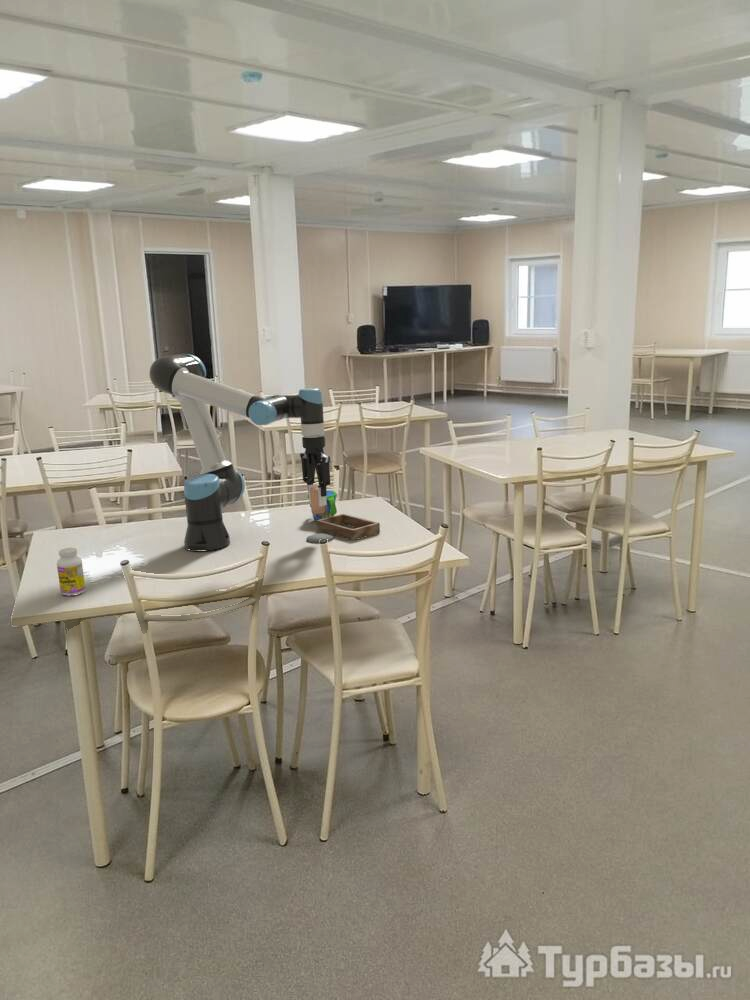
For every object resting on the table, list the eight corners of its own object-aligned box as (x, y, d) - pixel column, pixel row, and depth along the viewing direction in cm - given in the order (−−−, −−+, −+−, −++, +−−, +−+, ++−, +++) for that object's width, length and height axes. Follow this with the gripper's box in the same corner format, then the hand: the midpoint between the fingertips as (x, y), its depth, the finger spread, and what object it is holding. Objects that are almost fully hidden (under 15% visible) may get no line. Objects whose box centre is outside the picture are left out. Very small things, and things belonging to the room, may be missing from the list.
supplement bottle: (56, 597, 216) (49, 553, 213) (69, 588, 223) (62, 546, 220) (78, 597, 215) (72, 553, 212) (90, 589, 222) (84, 546, 219)
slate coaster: (317, 544, 255) (317, 542, 255) (301, 539, 261) (301, 537, 261) (338, 538, 261) (338, 537, 260) (322, 533, 267) (322, 532, 267)
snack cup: (345, 522, 281) (344, 495, 279) (319, 526, 276) (317, 499, 274) (328, 513, 295) (326, 487, 292) (302, 517, 290) (300, 491, 287)
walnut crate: (353, 540, 258) (352, 530, 257) (317, 529, 272) (316, 520, 272) (379, 532, 265) (379, 522, 265) (343, 522, 280) (342, 513, 279)
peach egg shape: (317, 514, 255) (315, 491, 254) (308, 512, 259) (307, 489, 257) (328, 511, 258) (326, 488, 256) (319, 509, 262) (318, 486, 260)
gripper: (339, 436, 249) (343, 506, 254) (306, 432, 261) (311, 498, 267) (320, 439, 244) (325, 510, 249) (288, 435, 257) (293, 502, 262)
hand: (318, 504), depth 258 cm, fingers closed on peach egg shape, 4 cm apart
